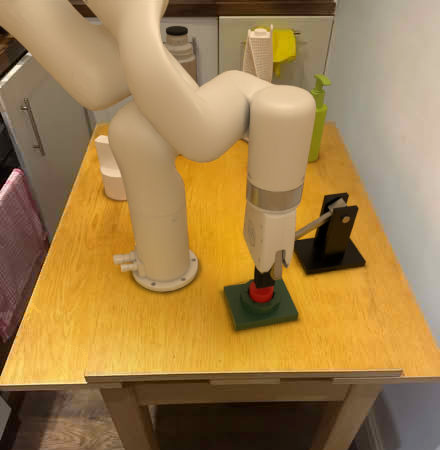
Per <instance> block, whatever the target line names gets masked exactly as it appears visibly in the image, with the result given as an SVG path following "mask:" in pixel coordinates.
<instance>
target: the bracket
mask: <svg viewBox="0 0 440 450" xmlns="http://www.w3.org/2000/svg"><path fill="white" fill-rule="evenodd" d="M349 197H350V194H349V193H348V192H347V191H346V192H339V193H338V192H337V193H329V194H324V195H323V198H322V199H323V200H322V204H321V208H320V212H319V217H321V216H322V215H324V214H326V213H327V212H329V211H330V210H329V208H328V206H329V205H331V204H333V203H334V202H336V201H337V200H339V199H341V198H342V199H343V200H344V202H345V203H346V205H347V204H348V201H349ZM359 209H360V208H359V206H358V205H357V204H355V205H354V204H353V205H347V206H346V207H338V208H333V212H332V215H331V219H330V220H329V221H327V222H326V223H324V224H322V225H321V226H319V227H318V228H316V229H315V230H316V231H315V234H314V236H313V237H308V238H299V239H298V240H296V241H295V244H294V249H293V253H295V256H296V258H297V259H298V261H299V263H300V266H301V267H302V269H303V271H304V273H305V275H306V276H310V275H315V274H316V275H318V274H322V273H323V274H324V273H330V272H335V271H341V270H347V269H355V268H360V267H365V265H366V263H367V261H366V260H365V258H364V256H363V255H362V253H361V252H360V251H359V249H358V247H357V246H356V245H355V243H354V242H353V240H352V239H351V234H352V231H353V228H354V226H355V222H356V219H357V215H358V212H359ZM319 217H318V218H319Z"/></svg>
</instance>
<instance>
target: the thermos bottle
mask: <svg viewBox="0 0 440 450" xmlns="http://www.w3.org/2000/svg"><path fill="white" fill-rule="evenodd" d="M188 33H189V28H187V26H183V25H172V26H171V25H170V26H168V27H166V28H165V34H166V35H165V40H166V41H165V43H163V45H164V46H165V47H166V48H167V50H168V51H169V52H170V53H171V54H172V55H173V57H174V58H175V59H176V60H177V61H178V62H179V63H180V65H181V66H182V67H183V68H184V69H185V70H186V72H187V73H188V74H189V75H190V76H191V77H192V79H193V80H194V81H195V82H196V83H197V65H196V63H197V61H196V60H197V59H196V55H195V54H194V53H193V52H194V50H193V44H192V43H190V42H189V36H188Z"/></svg>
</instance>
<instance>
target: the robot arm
mask: <svg viewBox="0 0 440 450" xmlns="http://www.w3.org/2000/svg"><path fill="white" fill-rule="evenodd" d="M169 1H170V0H82V2H83V3H84V4H85V6H87V7H88V8H89V10H91V12H92V13H93V14H94V16H95V17H96V18H97V19H98V20H99V21H100V23H101V24H93V23H91V22H90V21H89V20H88V19H87V18H85V17H84V16H83V15H82V14H81V13H80V12H79V11H78V10H77V9H76V7H74V6H73V5H72V3H71V2H70V1H69V0H0V27H1V28H3V30H5V31H6V32H7V33H9V34H10V35H11V36H12V37H13V38H14V39H16V41H18V42H19V43H20V45H22V47H24V48H25V50H27V51H28V53H29V54H30V55H31V56H32V57H33V58H34V59H35V60H36V61H37V63H39V65H41V67H42V68H43V69H45V71H46V72H47V73H48V74H49V75H50V76H51V77H52V78H53V79H54V80H55V81H56V82H57V83H58V84H59V85H60V86H61V87H62V88H63V89H64V91H66V93H68V95H69V96H71V97H72V98H73V100H75V101H76V102H77V103H78V104H79V105H80V106H82V107H83V108H84V109H86V110H88V111H91V112H100V111H104V110H107V109H109V108H111V107H113V106H115V105H117V104H119V103H121V102H122V101H123V100H126V99H127V98H129V97H130V96H131V97H132V100H130V101H129V102H127V103H126V104H125V105H123V106H122V107H121V108H120V109H119V110H118V111H117V112H116V113H115V114H114V115H113V116H112V118H111V120H110V123H109V124H108V129H107V136H108V142H109V145H110V149H111V151H112V154H113V156H114V158H115V161H116V163H117V165H118V168H119V171H120V174H121V177H122V180H123V184H124V188H125V193H126V198H127V200H126V202H127V206H128V212H129V217H130V223H131V227H132V228H131V229H132V234H133V238H134V250H130V251H129V253H128V252H127V253H118V254H113V255H112V259H113V264H114V266H119V265H120V271H121V273H126V272H129V271H131V272H132V276H133V278H134V280H135V282H137V284H138V285H140V286H141V287H143V288H145V289H147V290H150V291H154V292H172V291H176V290H179V289H181V288H184V287H186V286H187V285H189V284H191V282H192V281H193V280H194V279H195V278H196V276H197V274H198V272H199V260H198V258H197V255H196V254H195V253H194V251H192V249H190V242H189V228H188V213H187V212H188V210H187V198H186V186H185V182H184V179H183V177H182V175H181V173H179V171H178V169H177V167H176V160H177V158H178V157H179V156H180V155H181V156H183V157H184V158H186V159H187V160H190V161H192V162H195V163H199V164H206V163H207V164H208V163H211V162H214V161H216V160H218V159H220V157H222V156H223V155H224V154H226V153H227V152H228V151H229V150H230V149H231V148H232V147H233V146H234V145H235V144H236V143H238V141H239V140H242V138H245V137H247V138H248V139H249V143H247V144H248V147H247V166H246V167H247V169H246V185H245V187H246V188H245V201H246V203H245V210H244V220H243V232H242V235H243V240H244V242H245V245H246V247H247V249H248V252H249V254H250V257H251V259H252V261H253V264H254V270H253V279H254V283H255V286H256V288H257V289H260V288H266V287H271V286H274V285H275V280H278V279H283V267H284V269H288V268H289V267H290V266H291V263H292V259H293V255H294V250H293V249H294V240H295V232H296V227H297V208H298V207H300V205H301V203H302V197H303V193H304V192H303V191H304V185H305V181H306V180H305V179H306V173H307V167H308V163H309V162H308V156H309V150H310V144H311V139H312V133H313V127H314V121H315V114H316V103H315V100H314V98H313V96H312V95H311V94H310V92H309V90H306V89H304V88H301V87H298V86H295V85H287V84H274V83H272V82H271V83H269V82H267V81H264V80H262V79H260V78H258V77H255V76H253V75H251V74H248V73H246V72H243V71H242V70H238V69H237V70H236V69H232V70H231V69H230V70H226V71H224V72H221V73H219V74H218V75H216V76H215V77H213V78H212V79H211V80H209V81H207V82H205V83H204V84H203V85H201V86H199V85H198V83H197V81H196V82H195V81H194V80H193V79H192V77H191V76H190V75H189V74H188V73H187V72H186V70H185V69H184V68H183V67H182V66H181V65H180V63H179V62H178V61H177V60H176V59H175V58H174V57H173V55H172V54H171V53H170V52H169V51H168V50H167V48H166V47H165V46H164V43H163V40H162V34H161V20H162V19H163V17H164V15H165V13H166V10H167V7H168V6H169Z"/></svg>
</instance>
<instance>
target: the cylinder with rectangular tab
mask: <svg viewBox="0 0 440 450" xmlns="http://www.w3.org/2000/svg"><path fill="white" fill-rule="evenodd" d="M94 147H95V149H96V150H95V151H96V155H97V158H98V163H99V171H100V175H101V180H102V184H103V189H104V192H105V195H106V196H107V197H108V198H110V199H112V200H115V201H127V198H126V193H125V188H124V184H123V180H122V177H121V174H120V171H119V168H118V165H117V163H116V161H115V158H114V156H113V154H112V151H111V149H110V145H109V142H108V135H103V134H100V135H99V136H98V137H96V138H95V139H94Z"/></svg>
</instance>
